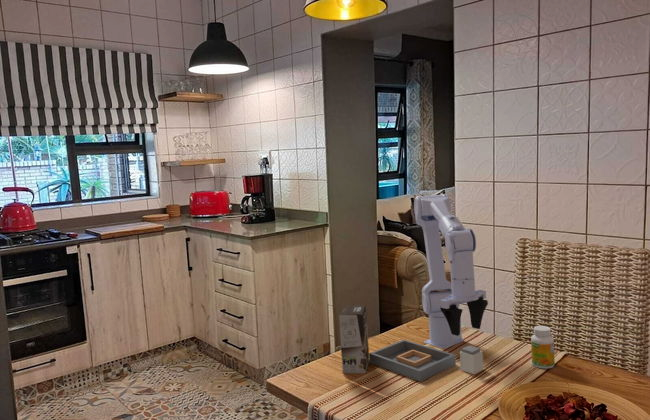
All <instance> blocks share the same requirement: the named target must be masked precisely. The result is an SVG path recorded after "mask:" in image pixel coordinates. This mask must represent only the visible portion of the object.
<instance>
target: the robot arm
mask: <svg viewBox="0 0 650 420" xmlns="http://www.w3.org/2000/svg"><path fill="white" fill-rule="evenodd" d="M451 203H452V201H451V198H450V196H449V194H447V193H443V194H432V195H416V196H415V198H414V201H413V210H414V219H415V222H416V225H418V226H420V227H421V229H422V232H423V238H424V246H425V247H424V248H425V252H426V253H425V254H426V261H427V267H428V268H427V269H428V274H429V275H428V278H429V281H428V282H427V283H426V284H424V286H422V289H421V303H422V309H423V312H424V313H425V314H427V315H428V326H429V327H428V329H429V339H426V340H424V341H423V343H424V344H425V345H426V344H427V345H430V346H433V347H437V348H440V349H443V350H445V349H448V348H450V347H452V346H454V345H457V344H459V343H461V342H464V341H465V338H463V335H462V333H463V332H462V319H461V317H462V313H463V308H460V305H462V304H465V303H466V305H467V308H468V312H469V316H470V324H471V328H473V329H477V330H479V329H480V330H481V326H482V320H483V316H484V313H485V311H486V309H487V307H488V305H489V302H488V301H489V300H487V291H486V290H483V289H478V290H476V283H475V281H476V280H475V269H474V266H475V265H474V252H475V251H476V248H477V240H476V239H477V238H476V235H475V232H474V230H473V229H472V228H465V226H464V224H463V223H462V222H461V221H460V219H459V217H457V216H456V215H454V214H451V210H452V204H451ZM440 232H441V233H440ZM441 235H442V236H443V238H444V243H445V244H444V245H445V250H446V253H447V254H446V255H447V259H448V261H449V268H450V270H449V271H450V281H448V280H447V277H446V276H447V275H446V270H445V263H444V262H445V261H444V257H443V256H444V255H443V247H442V240H441Z"/></svg>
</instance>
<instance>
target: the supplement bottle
mask: <svg viewBox="0 0 650 420" xmlns="http://www.w3.org/2000/svg"><path fill="white" fill-rule="evenodd" d="M551 334H552V332H551V328H550V327H548V326H547V325H535V326H534V327H533V334H532V336H531V337H530V344H531V345H530V346H531V347H530V349H531V350H530V351H531V364H532V365H533V367H536V368H538V369H552V368H554V366H555V364H556V363H555V339H554V337H553V336H552V335H551Z"/></svg>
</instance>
